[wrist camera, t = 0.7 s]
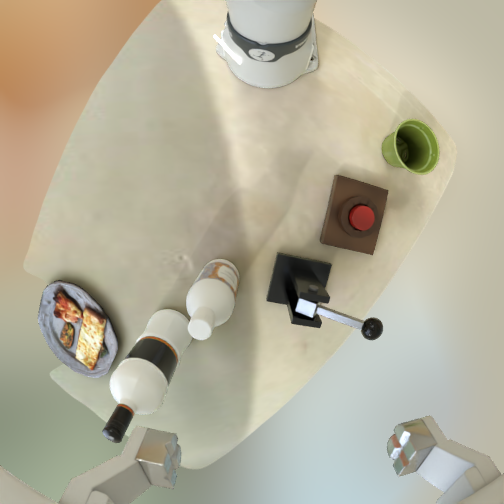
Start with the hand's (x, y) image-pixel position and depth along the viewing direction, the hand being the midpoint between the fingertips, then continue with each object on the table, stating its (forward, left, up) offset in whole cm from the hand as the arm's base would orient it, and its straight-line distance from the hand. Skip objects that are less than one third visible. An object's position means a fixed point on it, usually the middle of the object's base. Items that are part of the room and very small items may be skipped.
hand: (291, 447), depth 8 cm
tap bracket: (+7, +8, -42) cm, 43 cm away
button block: (-7, +15, -42) cm, 45 cm away
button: (-7, +15, -38) cm, 41 cm away
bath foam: (+9, -6, -42) cm, 43 cm away
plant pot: (-21, +21, -42) cm, 51 cm away
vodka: (+22, -14, -42) cm, 49 cm away
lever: (+7, +13, -29) cm, 33 cm away
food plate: (+30, -38, -42) cm, 64 cm away
